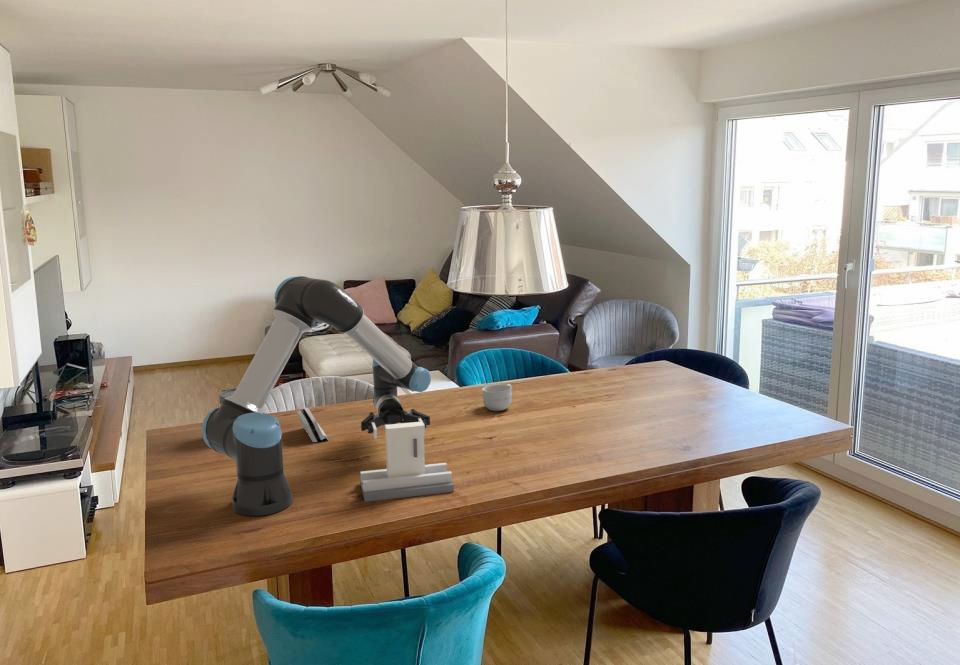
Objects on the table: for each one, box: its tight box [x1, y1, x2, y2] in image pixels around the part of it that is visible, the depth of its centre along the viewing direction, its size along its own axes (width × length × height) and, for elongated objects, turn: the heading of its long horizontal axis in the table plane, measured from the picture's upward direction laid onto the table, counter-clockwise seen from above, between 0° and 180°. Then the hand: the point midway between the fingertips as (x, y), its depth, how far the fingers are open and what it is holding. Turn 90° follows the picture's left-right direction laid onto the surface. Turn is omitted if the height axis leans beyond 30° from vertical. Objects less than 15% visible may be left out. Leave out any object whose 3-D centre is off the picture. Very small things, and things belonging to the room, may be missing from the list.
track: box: [359, 462, 455, 503], centre depth 210 cm, size 24×12×4 cm, turn 104°
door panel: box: [384, 422, 426, 478], centre depth 208 cm, size 10×4×16 cm, turn 104°
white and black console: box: [296, 407, 329, 443], centre depth 252 cm, size 17×5×10 cm, turn 24°
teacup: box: [481, 383, 513, 412], centre depth 279 cm, size 14×11×8 cm
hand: (399, 432), depth 217 cm, fingers open, 13 cm apart
